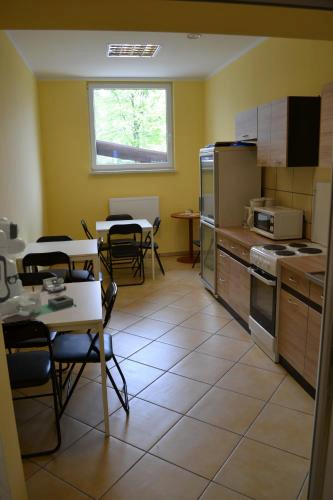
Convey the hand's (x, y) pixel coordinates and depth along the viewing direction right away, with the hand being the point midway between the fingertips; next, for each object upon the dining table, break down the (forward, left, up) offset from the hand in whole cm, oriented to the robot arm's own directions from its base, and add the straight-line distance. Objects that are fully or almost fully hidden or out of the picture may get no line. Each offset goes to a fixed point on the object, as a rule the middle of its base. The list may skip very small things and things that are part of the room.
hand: (37, 299), depth 236 cm
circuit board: (0, +8, -8) cm, 12 cm away
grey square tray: (0, +15, -8) cm, 17 cm away
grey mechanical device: (-34, +27, -9) cm, 45 cm away
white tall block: (0, -1, -7) cm, 7 cm away
